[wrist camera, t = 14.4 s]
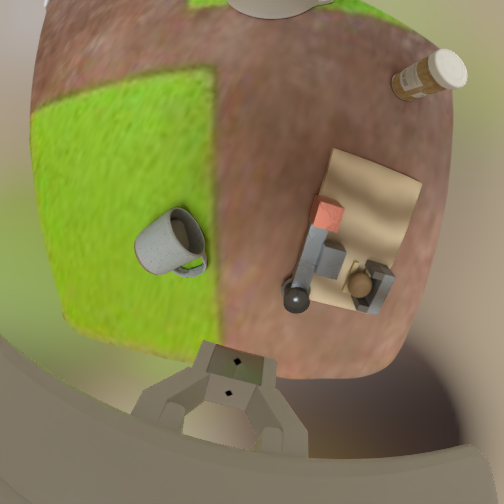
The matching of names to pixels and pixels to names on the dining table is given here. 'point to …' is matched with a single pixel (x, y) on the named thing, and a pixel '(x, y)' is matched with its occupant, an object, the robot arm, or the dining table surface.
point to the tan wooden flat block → (364, 228)
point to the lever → (316, 253)
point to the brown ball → (359, 285)
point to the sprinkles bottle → (430, 76)
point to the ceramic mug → (171, 244)
